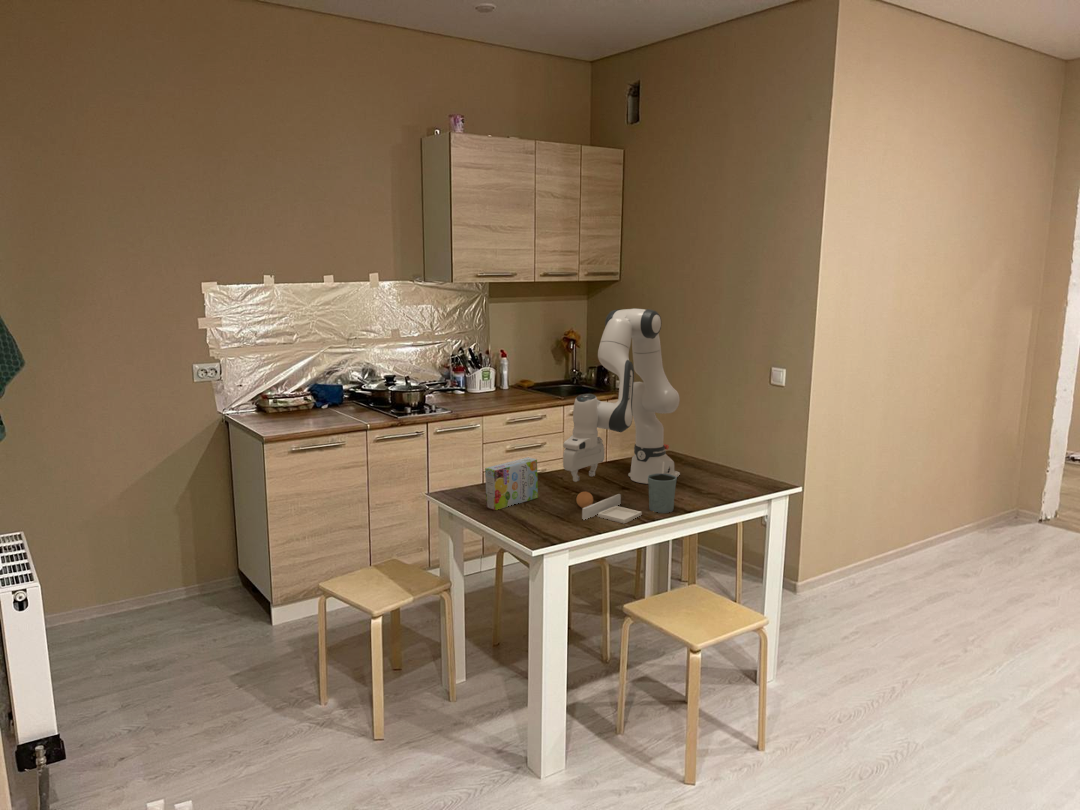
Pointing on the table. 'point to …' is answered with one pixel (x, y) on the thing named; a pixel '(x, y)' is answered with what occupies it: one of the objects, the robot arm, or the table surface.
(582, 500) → the ball
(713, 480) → the table surface
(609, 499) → the low wall
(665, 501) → the grey green cup
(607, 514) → the square tray
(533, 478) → the snack box
